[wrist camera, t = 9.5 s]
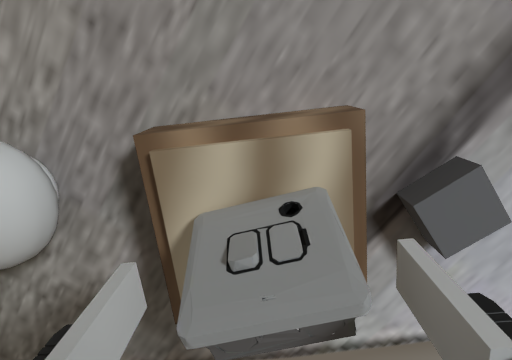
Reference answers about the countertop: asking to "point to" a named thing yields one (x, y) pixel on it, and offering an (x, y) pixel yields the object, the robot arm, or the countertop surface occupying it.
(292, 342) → the electrical switch
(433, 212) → the rubber block
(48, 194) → the flower vase
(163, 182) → the wooden box
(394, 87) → the countertop surface
